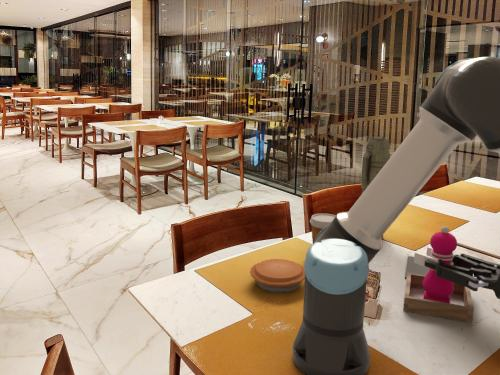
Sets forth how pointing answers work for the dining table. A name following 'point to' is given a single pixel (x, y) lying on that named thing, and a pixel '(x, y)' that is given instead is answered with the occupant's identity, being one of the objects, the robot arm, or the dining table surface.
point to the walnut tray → (438, 307)
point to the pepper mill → (443, 250)
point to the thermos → (374, 160)
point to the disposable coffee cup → (320, 223)
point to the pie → (278, 275)
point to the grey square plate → (415, 267)
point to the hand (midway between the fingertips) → (421, 254)
